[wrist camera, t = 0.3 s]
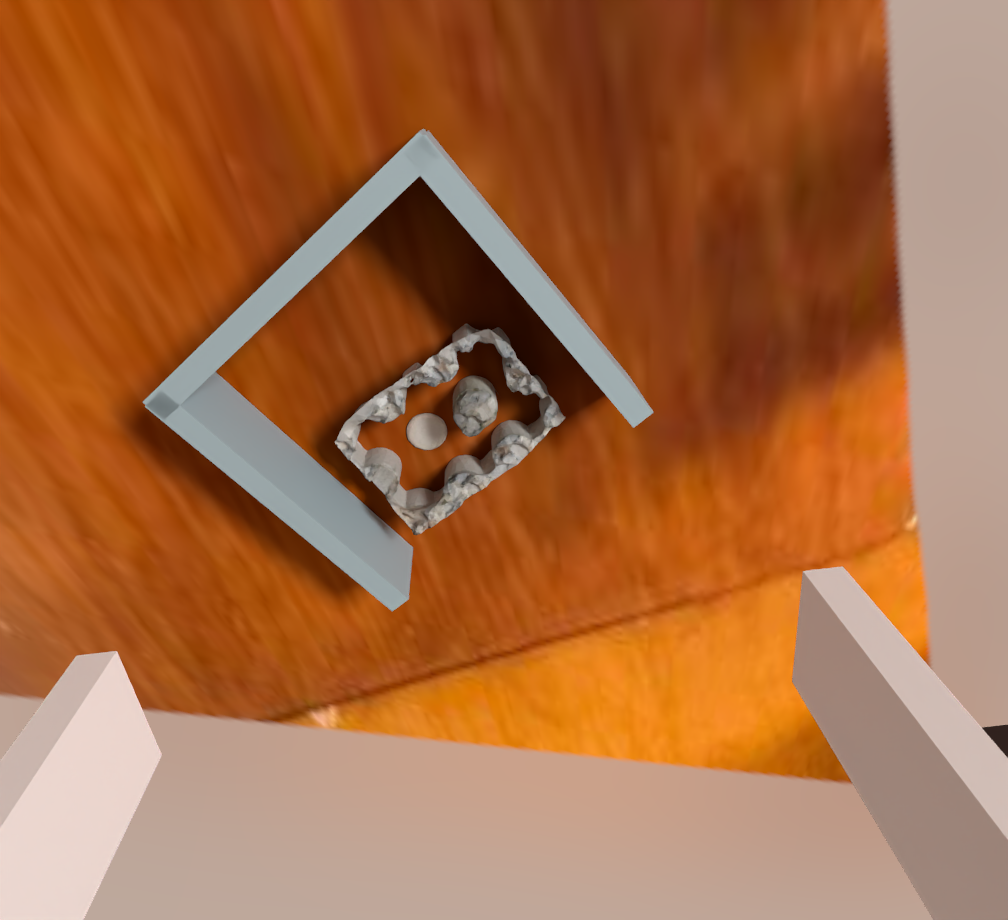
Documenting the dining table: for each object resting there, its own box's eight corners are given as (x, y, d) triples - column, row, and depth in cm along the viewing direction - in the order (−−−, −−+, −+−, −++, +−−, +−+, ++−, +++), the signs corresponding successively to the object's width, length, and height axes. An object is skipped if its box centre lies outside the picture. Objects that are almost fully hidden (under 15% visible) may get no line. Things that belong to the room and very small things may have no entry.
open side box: (179, 367, 37) (140, 403, 32) (425, 127, 32) (421, 129, 28) (398, 558, 43) (392, 611, 38) (629, 377, 38) (653, 412, 34)
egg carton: (414, 507, 42) (410, 546, 38) (330, 411, 39) (316, 443, 35) (567, 409, 39) (578, 440, 36) (490, 299, 36) (494, 321, 33)
